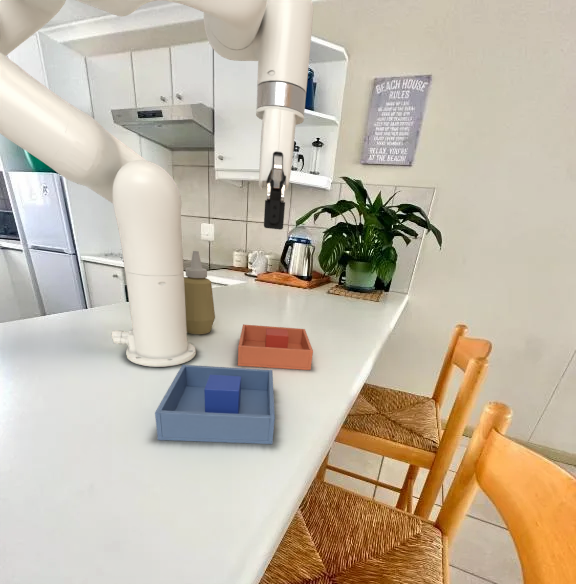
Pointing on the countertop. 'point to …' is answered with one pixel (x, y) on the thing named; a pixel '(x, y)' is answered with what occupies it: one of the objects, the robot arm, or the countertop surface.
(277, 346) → the red block
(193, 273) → the squeeze bottle
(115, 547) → the countertop surface
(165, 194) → the robot arm
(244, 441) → the blue bin
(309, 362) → the red bin
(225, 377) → the blue block
